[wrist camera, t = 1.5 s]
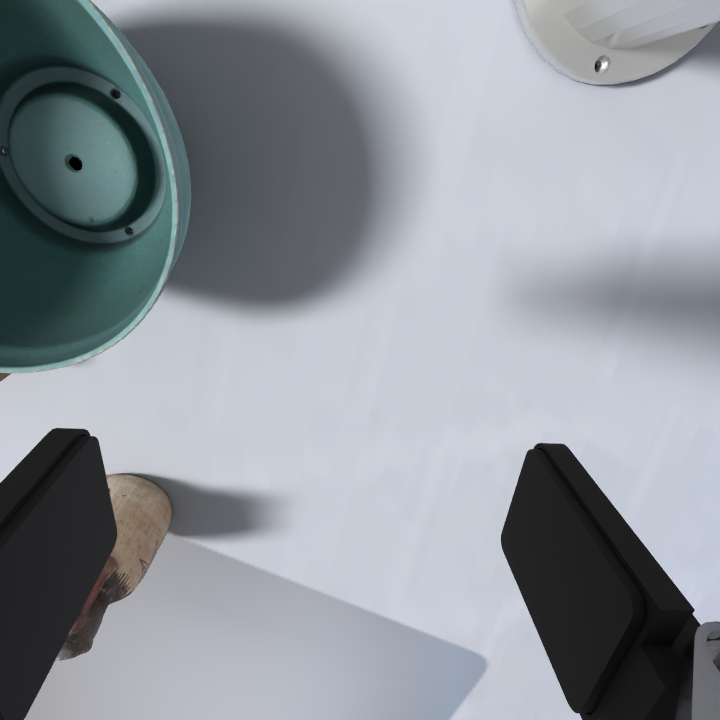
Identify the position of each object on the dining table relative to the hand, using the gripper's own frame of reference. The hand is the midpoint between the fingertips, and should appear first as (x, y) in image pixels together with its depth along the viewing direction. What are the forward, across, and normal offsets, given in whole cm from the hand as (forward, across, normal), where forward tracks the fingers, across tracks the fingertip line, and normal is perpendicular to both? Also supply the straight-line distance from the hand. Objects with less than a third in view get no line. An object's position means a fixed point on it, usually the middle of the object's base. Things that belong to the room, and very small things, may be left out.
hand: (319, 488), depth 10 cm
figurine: (+21, +15, +21) cm, 34 cm away
